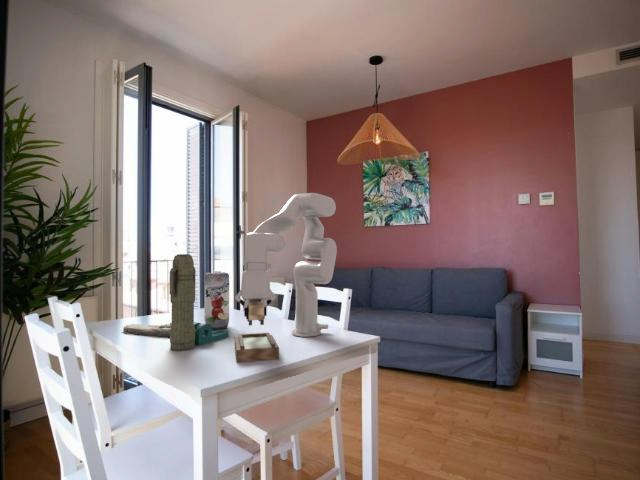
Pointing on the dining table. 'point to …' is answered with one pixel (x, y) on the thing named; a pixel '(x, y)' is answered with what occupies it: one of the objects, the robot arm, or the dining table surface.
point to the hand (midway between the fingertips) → (255, 317)
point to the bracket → (207, 334)
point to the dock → (256, 347)
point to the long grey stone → (149, 329)
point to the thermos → (182, 303)
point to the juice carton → (217, 299)
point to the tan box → (256, 311)
